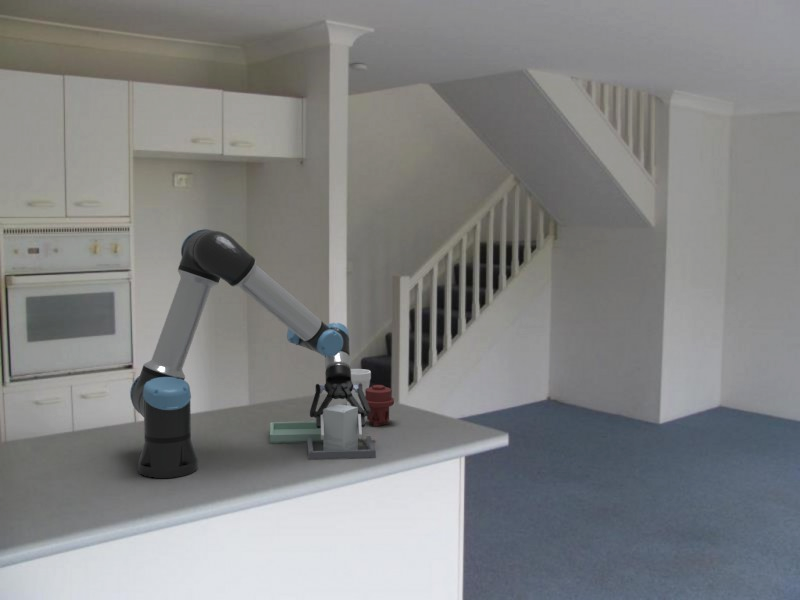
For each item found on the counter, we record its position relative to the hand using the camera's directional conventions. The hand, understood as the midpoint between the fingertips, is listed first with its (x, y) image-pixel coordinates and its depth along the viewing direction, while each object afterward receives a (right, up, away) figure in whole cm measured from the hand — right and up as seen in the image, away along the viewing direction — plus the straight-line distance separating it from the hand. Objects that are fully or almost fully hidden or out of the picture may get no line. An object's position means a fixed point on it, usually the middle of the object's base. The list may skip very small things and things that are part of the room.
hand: (341, 437), depth 232 cm
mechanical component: (+9, -2, +33) cm, 34 cm away
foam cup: (+2, +1, +52) cm, 52 cm away
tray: (-13, -3, +18) cm, 22 cm away
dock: (0, -5, +4) cm, 6 cm away
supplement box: (0, -5, +4) cm, 6 cm away
